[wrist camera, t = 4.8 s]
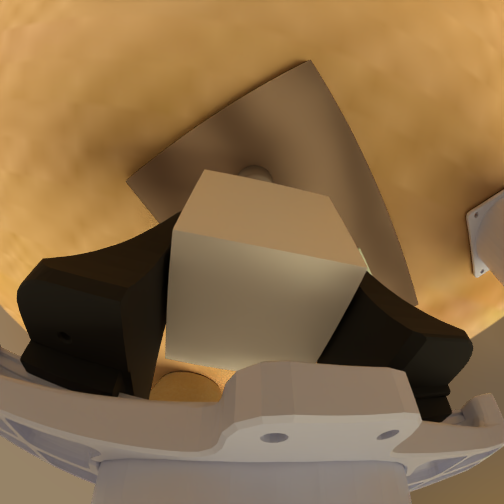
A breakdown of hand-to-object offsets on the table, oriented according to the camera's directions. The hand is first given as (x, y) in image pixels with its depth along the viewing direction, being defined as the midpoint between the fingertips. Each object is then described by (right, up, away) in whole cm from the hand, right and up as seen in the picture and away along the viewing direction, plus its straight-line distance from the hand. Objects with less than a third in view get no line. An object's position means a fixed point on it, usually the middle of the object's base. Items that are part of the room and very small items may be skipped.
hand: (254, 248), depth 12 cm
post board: (+3, 0, +10) cm, 11 cm away
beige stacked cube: (0, 0, +1) cm, 1 cm away
